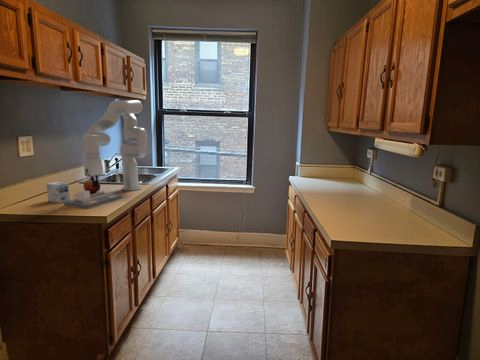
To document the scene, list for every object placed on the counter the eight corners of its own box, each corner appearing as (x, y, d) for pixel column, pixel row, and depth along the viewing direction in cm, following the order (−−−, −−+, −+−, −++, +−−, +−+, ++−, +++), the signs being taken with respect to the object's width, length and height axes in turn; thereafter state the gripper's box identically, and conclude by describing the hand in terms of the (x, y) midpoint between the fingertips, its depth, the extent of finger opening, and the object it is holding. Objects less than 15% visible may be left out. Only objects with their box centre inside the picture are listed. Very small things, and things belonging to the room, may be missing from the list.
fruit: (101, 193, 209) (100, 178, 207) (84, 195, 205) (83, 179, 203) (100, 190, 218) (99, 176, 217) (83, 192, 214) (82, 177, 212)
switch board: (99, 195, 204) (99, 190, 203) (122, 198, 198) (121, 192, 197) (63, 205, 180) (63, 199, 180) (88, 208, 174) (87, 202, 173)
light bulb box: (70, 200, 191) (68, 182, 189) (60, 203, 185) (58, 184, 183) (58, 198, 195) (56, 181, 193) (47, 201, 189) (45, 183, 187)
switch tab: (83, 199, 185) (82, 190, 184) (90, 200, 183) (89, 191, 182) (77, 200, 181) (77, 191, 180) (84, 201, 179) (83, 192, 178)
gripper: (97, 153, 194) (100, 183, 198) (76, 157, 180) (80, 189, 184) (107, 154, 191) (110, 184, 195) (86, 158, 177) (90, 190, 181)
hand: (96, 186), depth 190 cm, fingers closed
